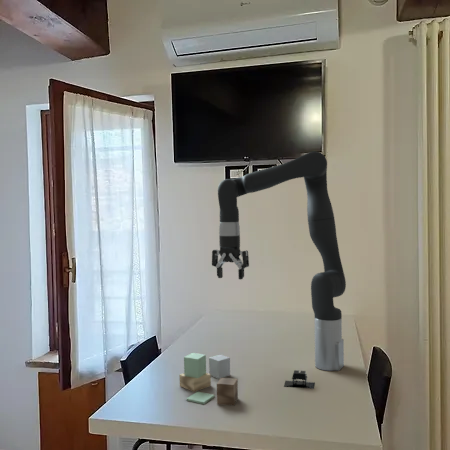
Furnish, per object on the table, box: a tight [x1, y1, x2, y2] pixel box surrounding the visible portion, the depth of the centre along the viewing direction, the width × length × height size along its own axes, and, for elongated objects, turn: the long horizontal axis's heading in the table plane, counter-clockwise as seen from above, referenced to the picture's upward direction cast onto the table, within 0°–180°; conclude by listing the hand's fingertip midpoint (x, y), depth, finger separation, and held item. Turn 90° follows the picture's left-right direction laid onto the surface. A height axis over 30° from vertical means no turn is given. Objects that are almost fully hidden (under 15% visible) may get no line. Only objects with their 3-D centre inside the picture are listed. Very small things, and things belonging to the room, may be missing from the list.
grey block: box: [208, 354, 231, 380], centre depth 165 cm, size 5×5×6 cm
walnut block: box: [216, 377, 239, 406], centre depth 143 cm, size 5×5×6 cm
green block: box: [183, 352, 207, 378], centre depth 155 cm, size 5×5×6 cm
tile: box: [186, 391, 215, 405], centre depth 145 cm, size 6×6×1 cm
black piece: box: [283, 369, 316, 390], centre depth 155 cm, size 12×7×5 cm, turn 77°
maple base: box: [179, 372, 212, 393], centre depth 156 cm, size 7×7×4 cm
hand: (230, 278), depth 180 cm, fingers open, 8 cm apart
